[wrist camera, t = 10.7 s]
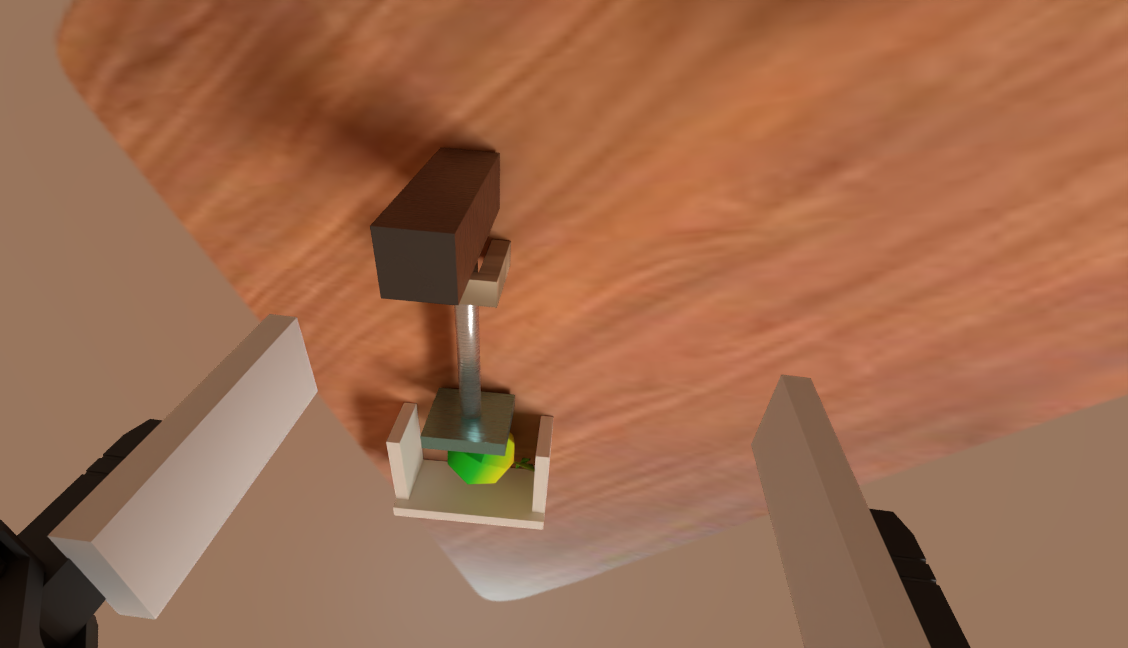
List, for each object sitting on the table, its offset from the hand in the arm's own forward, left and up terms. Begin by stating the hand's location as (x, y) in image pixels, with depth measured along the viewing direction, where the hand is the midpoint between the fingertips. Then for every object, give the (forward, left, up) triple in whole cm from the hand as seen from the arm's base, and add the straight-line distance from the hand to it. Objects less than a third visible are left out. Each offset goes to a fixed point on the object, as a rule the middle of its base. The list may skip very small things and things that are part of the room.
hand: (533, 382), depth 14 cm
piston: (+13, -7, -24) cm, 28 cm away
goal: (+30, -7, -24) cm, 39 cm away
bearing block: (+9, -7, -24) cm, 27 cm away
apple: (+28, -5, -25) cm, 38 cm away
